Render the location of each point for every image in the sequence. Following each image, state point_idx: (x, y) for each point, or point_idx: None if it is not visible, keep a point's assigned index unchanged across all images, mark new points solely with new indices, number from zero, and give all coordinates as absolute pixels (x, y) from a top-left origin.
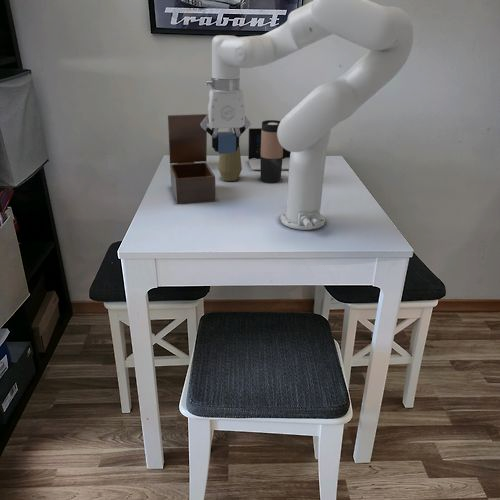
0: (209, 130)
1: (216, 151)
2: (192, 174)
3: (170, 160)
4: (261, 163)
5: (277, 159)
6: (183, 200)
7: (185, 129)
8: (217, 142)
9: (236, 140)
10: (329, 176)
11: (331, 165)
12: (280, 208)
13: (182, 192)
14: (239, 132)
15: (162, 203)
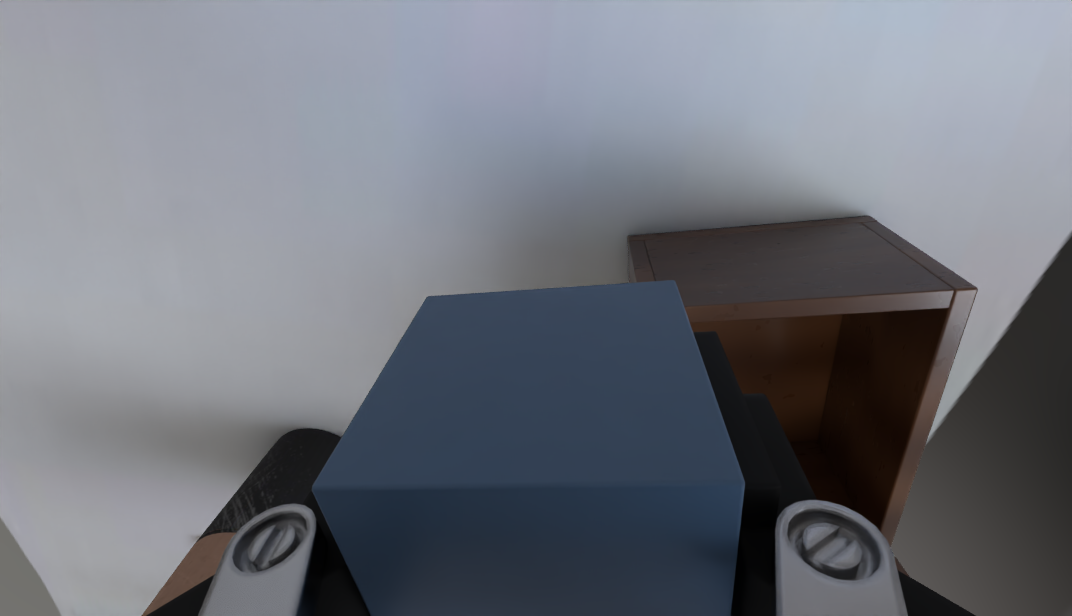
0: None
1: (705, 333)
2: None
3: (904, 573)
4: None
5: (217, 529)
6: (835, 226)
7: None
8: (723, 418)
9: None
10: (58, 463)
11: (77, 561)
12: (242, 69)
13: (866, 245)
14: (221, 591)
15: (955, 236)
